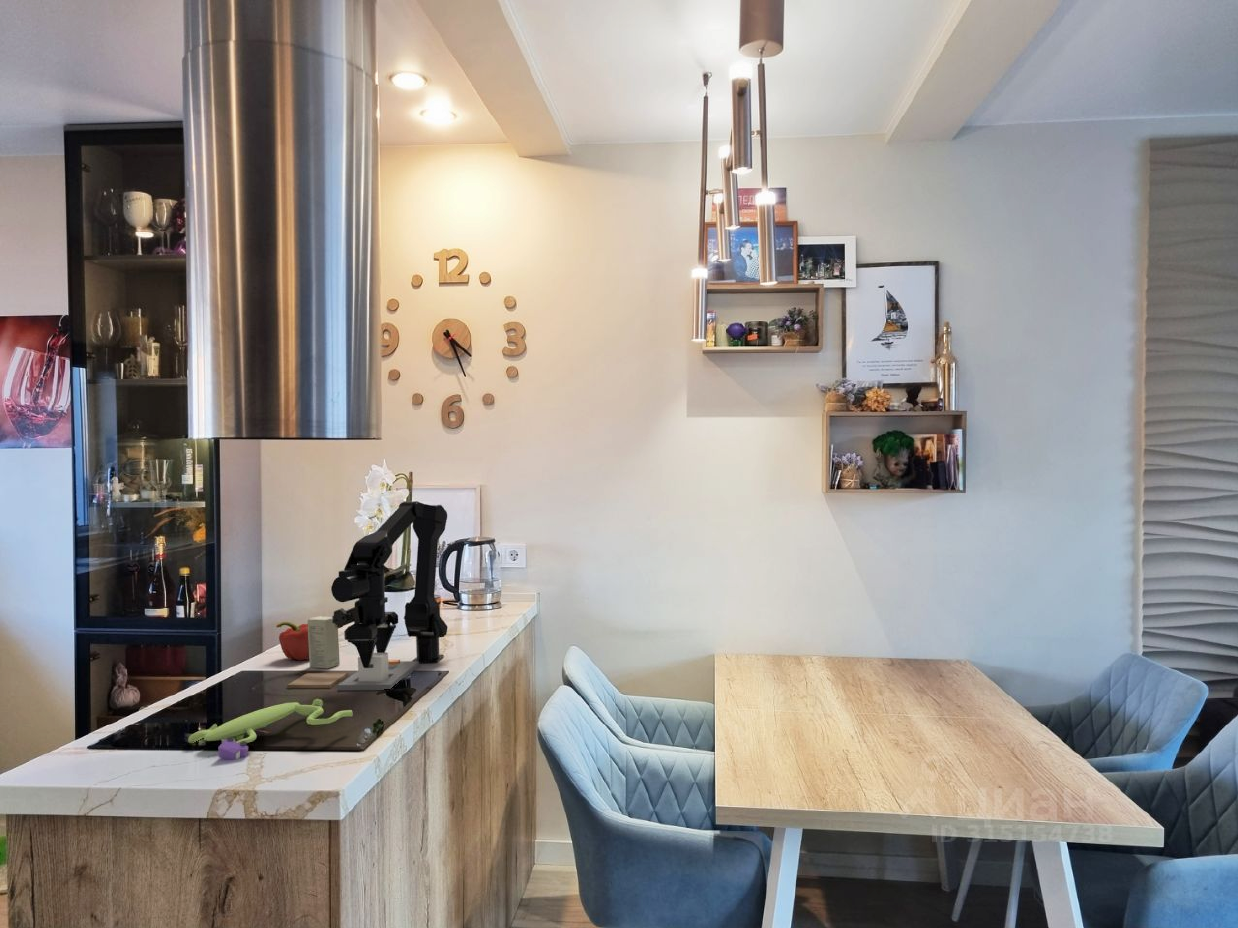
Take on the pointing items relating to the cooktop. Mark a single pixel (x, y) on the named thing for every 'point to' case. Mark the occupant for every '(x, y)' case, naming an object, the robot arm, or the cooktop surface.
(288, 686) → the walnut coaster
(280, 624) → the vegetable
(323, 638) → the skincare box
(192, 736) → the figurine
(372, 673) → the block
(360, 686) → the grey slotted tray
